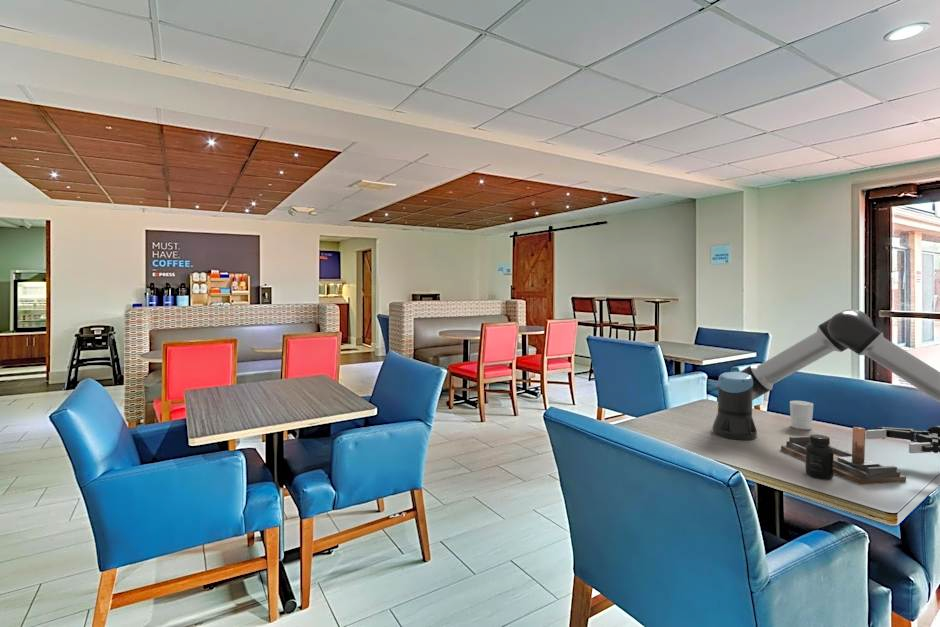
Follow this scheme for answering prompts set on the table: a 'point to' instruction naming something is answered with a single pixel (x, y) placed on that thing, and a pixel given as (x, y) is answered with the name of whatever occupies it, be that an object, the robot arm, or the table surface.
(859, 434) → the carriage
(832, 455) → the supplement bottle
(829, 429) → the table surface
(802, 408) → the white cup
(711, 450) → the table surface
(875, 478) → the slide board
